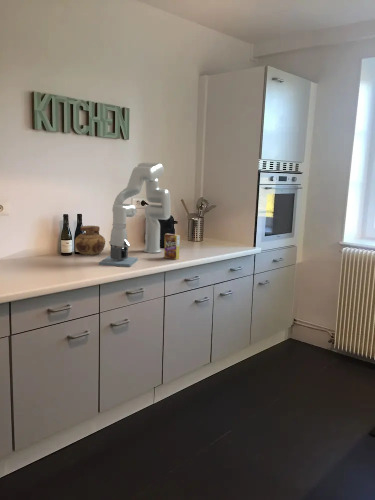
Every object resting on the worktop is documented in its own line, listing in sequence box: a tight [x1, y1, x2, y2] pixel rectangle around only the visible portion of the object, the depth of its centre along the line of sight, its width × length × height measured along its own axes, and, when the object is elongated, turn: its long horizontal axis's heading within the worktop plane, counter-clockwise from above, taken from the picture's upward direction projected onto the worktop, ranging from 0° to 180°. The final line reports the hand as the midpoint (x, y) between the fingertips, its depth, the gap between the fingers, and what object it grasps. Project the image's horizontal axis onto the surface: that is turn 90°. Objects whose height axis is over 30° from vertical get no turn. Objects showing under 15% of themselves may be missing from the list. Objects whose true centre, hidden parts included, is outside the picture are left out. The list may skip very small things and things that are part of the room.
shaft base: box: [98, 255, 139, 268], centre depth 256 cm, size 20×18×6 cm
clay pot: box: [74, 225, 106, 256], centre depth 277 cm, size 19×19×20 cm
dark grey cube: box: [110, 246, 129, 260], centre depth 256 cm, size 7×7×7 cm
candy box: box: [163, 233, 181, 261], centre depth 273 cm, size 9×4×15 cm, turn 60°
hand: (119, 256), depth 256 cm, fingers closed on dark grey cube, 6 cm apart
